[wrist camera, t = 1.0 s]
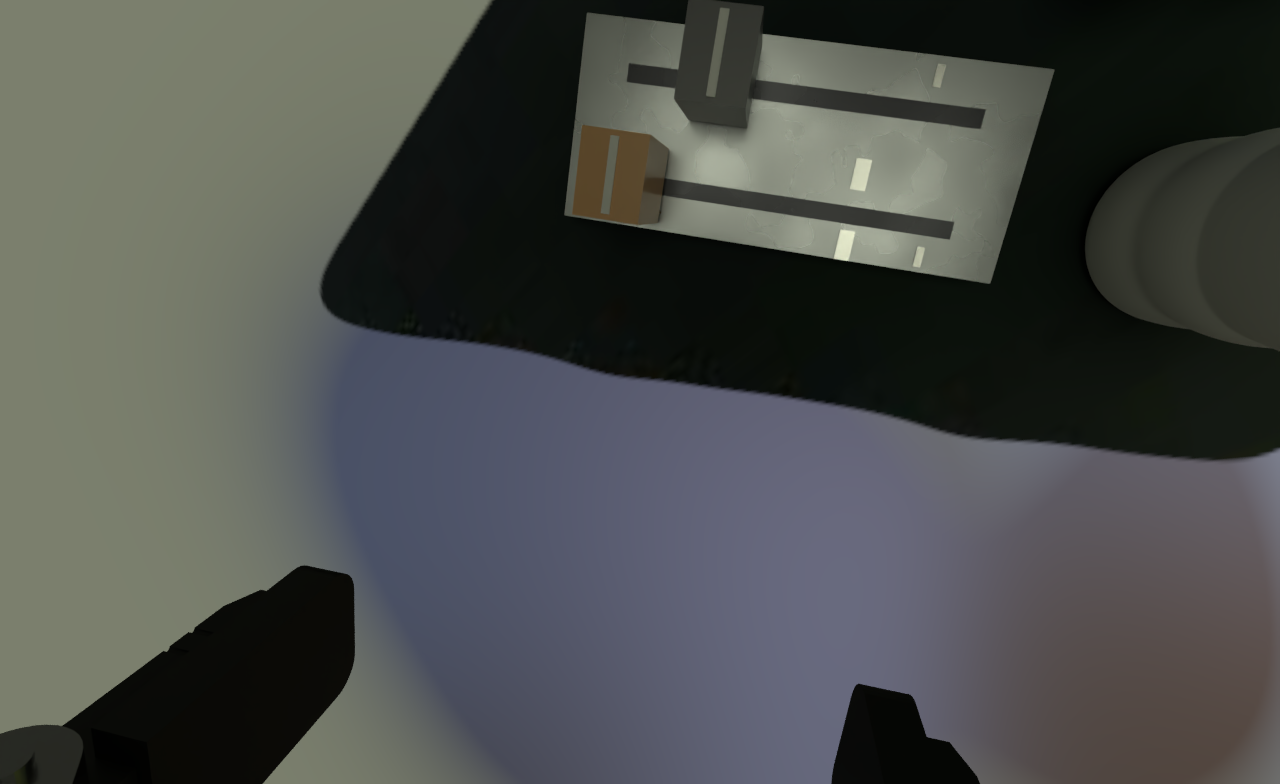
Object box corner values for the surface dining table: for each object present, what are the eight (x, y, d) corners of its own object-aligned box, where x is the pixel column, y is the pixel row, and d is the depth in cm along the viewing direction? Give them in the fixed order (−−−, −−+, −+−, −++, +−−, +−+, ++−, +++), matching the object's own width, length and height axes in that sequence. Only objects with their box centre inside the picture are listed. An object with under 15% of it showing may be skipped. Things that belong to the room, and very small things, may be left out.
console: (598, 26, 28) (586, 11, 26) (1032, 80, 26) (1056, 68, 24) (576, 215, 30) (563, 215, 28) (974, 279, 28) (991, 284, 26)
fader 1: (612, 140, 27) (581, 124, 22) (668, 148, 27) (650, 134, 22) (602, 214, 28) (571, 214, 23) (657, 223, 28) (637, 224, 23)
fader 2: (700, 38, 26) (688, -4, 21) (762, 45, 25) (763, 5, 20) (688, 119, 26) (673, 98, 22) (747, 128, 26) (745, 108, 21)
